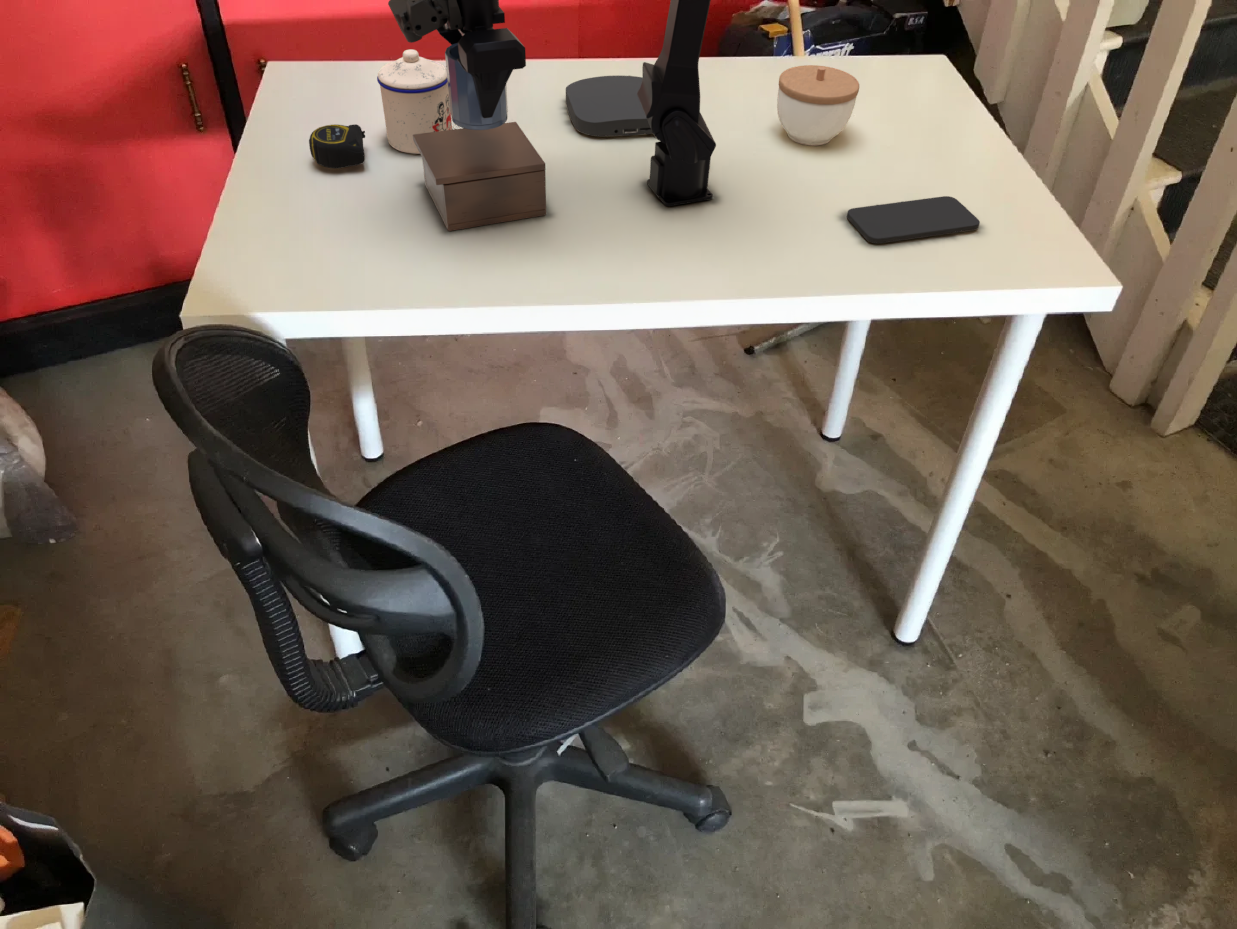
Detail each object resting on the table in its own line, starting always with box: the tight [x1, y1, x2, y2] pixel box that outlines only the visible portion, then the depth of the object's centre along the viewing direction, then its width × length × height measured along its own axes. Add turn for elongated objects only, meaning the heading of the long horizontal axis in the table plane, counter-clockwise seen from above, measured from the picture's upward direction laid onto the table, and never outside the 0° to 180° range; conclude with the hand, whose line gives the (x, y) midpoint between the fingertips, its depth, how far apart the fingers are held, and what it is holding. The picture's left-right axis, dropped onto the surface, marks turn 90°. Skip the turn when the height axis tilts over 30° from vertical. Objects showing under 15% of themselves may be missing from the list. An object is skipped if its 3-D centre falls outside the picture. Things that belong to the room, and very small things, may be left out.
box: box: [421, 157, 547, 232], centre depth 113 cm, size 12×12×6 cm
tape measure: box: [308, 123, 366, 169], centre depth 119 cm, size 7×7×4 cm
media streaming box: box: [565, 75, 654, 137], centre depth 132 cm, size 15×15×3 cm
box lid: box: [413, 121, 546, 185], centre depth 110 cm, size 13×12×1 cm
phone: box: [846, 195, 981, 244], centre depth 114 cm, size 7×1×15 cm
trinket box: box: [776, 64, 860, 147], centre depth 128 cm, size 11×11×9 cm
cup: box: [444, 43, 509, 130], centre depth 105 cm, size 6×6×8 cm
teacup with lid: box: [376, 48, 453, 155], centre depth 123 cm, size 12×9×12 cm
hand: (479, 104), depth 106 cm, fingers closed on cup, 6 cm apart
